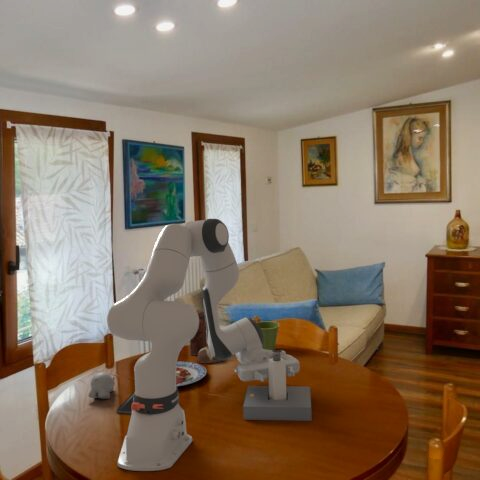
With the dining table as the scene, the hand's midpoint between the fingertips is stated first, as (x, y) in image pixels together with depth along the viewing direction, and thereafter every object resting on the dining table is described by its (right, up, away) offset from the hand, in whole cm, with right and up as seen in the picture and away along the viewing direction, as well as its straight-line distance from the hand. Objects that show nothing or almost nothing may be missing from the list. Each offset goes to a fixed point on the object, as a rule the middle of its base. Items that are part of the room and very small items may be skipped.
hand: (278, 376), depth 154 cm
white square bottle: (0, -10, +2) cm, 10 cm away
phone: (-45, -12, +9) cm, 48 cm away
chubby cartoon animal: (-58, -11, +16) cm, 61 cm away
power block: (0, -10, +2) cm, 11 cm away
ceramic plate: (-37, -9, +31) cm, 49 cm away
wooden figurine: (-30, -6, +61) cm, 68 cm away
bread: (-23, -7, +51) cm, 57 cm away
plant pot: (-1, -5, +60) cm, 60 cm away
